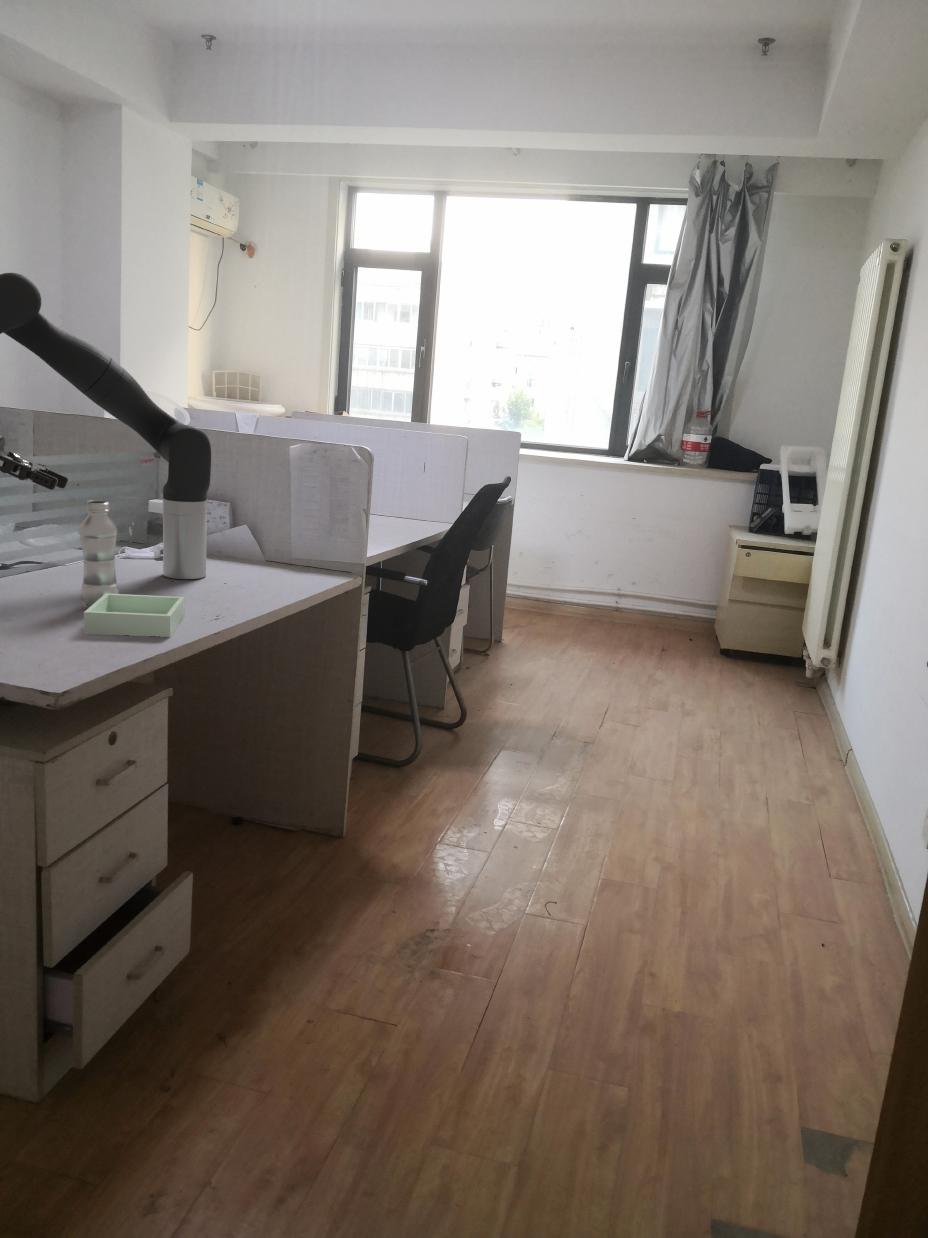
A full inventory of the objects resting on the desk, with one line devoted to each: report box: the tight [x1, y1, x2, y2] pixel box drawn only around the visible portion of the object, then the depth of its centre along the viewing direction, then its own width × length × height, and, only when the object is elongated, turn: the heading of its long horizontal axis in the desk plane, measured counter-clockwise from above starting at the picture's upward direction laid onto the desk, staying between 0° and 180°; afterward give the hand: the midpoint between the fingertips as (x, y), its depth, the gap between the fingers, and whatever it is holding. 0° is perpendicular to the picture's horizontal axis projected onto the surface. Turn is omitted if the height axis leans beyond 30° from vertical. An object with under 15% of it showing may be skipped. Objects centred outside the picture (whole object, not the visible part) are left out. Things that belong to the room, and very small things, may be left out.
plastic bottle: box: [78, 500, 120, 608], centre depth 162 cm, size 6×7×20 cm
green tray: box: [83, 593, 186, 638], centre depth 155 cm, size 14×14×4 cm
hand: (61, 484), depth 158 cm, fingers open, 8 cm apart
